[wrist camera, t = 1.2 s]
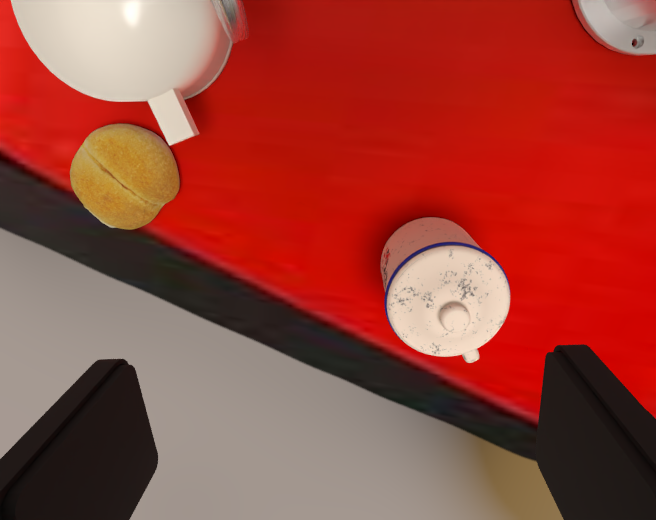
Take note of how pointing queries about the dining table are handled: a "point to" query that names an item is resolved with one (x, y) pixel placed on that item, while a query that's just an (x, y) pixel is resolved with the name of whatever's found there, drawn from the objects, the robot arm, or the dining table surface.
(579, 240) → the dining table surface
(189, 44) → the pot
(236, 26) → the lid
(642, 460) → the robot arm
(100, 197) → the bread roll
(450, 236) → the teacup with lid
